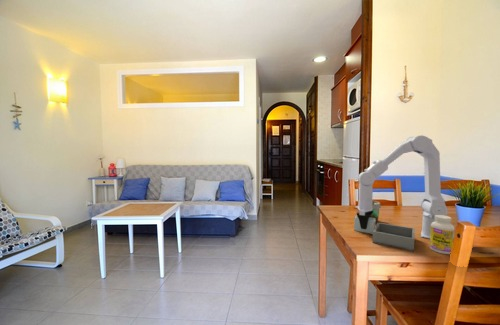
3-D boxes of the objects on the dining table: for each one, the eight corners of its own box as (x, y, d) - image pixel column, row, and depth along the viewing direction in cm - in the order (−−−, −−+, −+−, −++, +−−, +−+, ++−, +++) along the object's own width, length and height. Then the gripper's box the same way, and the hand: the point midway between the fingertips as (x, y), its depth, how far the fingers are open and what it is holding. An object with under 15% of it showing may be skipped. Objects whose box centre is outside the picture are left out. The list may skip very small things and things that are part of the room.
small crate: (375, 231, 106) (375, 218, 106) (373, 234, 102) (373, 220, 102) (356, 227, 111) (356, 215, 111) (354, 230, 107) (354, 217, 107)
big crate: (414, 238, 97) (414, 228, 96) (413, 251, 85) (414, 239, 85) (377, 232, 105) (378, 222, 104) (372, 242, 93) (372, 231, 93)
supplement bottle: (428, 250, 85) (429, 216, 85) (431, 245, 90) (432, 213, 89) (452, 256, 80) (454, 220, 80) (454, 250, 85) (455, 216, 84)
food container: (384, 225, 115) (384, 205, 114) (370, 224, 116) (371, 204, 115) (376, 218, 127) (376, 200, 126) (363, 217, 128) (364, 199, 128)
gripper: (359, 194, 114) (358, 221, 115) (352, 199, 102) (351, 229, 103) (375, 196, 110) (374, 224, 111) (370, 201, 98) (369, 233, 99)
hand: (364, 227), depth 107 cm, fingers closed on small crate, 5 cm apart
